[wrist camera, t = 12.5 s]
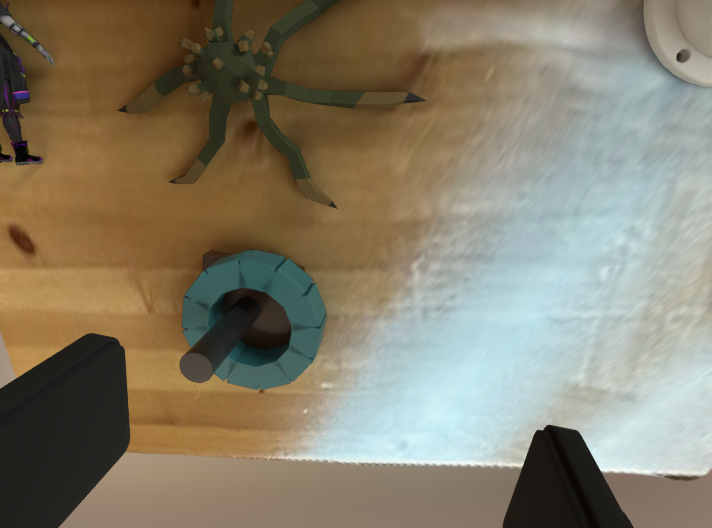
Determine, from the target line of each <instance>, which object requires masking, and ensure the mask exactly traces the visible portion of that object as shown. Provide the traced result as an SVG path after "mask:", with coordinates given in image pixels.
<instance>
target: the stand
mask: <svg viewBox="0 0 712 528" xmlns="http://www.w3.org/2000/svg"><path fill="white" fill-rule="evenodd" d="M230 255H234V254H229V253H223V252H218V251H212V250H210V251H208V252H207V253H205V254H203V271H204V270H205V269H207V268H208V267H209V266H211V265H212V264H214V263H215V262H217V261H218V260H220V259H221V258H224V257H227V256H230ZM298 267H299V268H301V269H302V270H303V271H304V269H305V267H300V266H298ZM222 315H223V316H222V317H221V318H220V319H219V320H218V321H217V322H216V323H215V324H214V325H213V326H212V327H211V328H210V329H209V330H208V331H207V332H206V333H205V334H204V335H203V336H202V337H201V338H200V339H199V340H198V341H197V342H196V343H195V344H194V345H193V346H192V347H191V349H190V350H189V351H188V352H187V353H186V354H185V355H184V356H183V357H182V358H181V360H180V370H181V372H182V374H183V375H184V376H185V377H186V378H187V379H188V380H190V381H192V382H196V383H202V382H205V381H207V380H209V379H210V378H211V376H212V375H213V374H214V373H215V371H216V370H217V369H218V368H219V366H220V365H221V364H222V363H223V361H224V360H225V359H226V358H227V356H228V355H229V354H230V352H231V351H232V350H233V349H234V347H235V346H236V345H237V344H238V342H239V341H240V340H241V341H242V342H243V343H245V344H246V345H247V346H252V347H256V348H260V349H265V350H268V349H272V348H275V347H279V346H283V345H285V344H286V343H287V342H288V341H289V340H290V338H291V331H292V326H291V323H290V321H289V319H288V316H287V314H286V311H285V309H284V307H283V306H282V305H280V304H279V303H278V302H277V301H276V300H274V299H273V298H272V297H271V296H270V295H268V294H267V293H266V292H262V291H258V290H253V289H249V288H245V287H242V288H239V289H235V290H232V291H229V292H227V293H226V294H225V296H224V303H223V313H222Z"/></svg>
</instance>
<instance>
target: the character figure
mask: <svg viewBox="0 0 712 528" xmlns="http://www.w3.org/2000/svg"><path fill="white" fill-rule="evenodd" d="M8 5H9V3H7V4H6V7H5V8H4V7H3V5H2V4H1V3H0V24H4V25H5V26H6V27H7V28H8V29H9V30H10V31H11V32H13V33H14V34H16V35H17V36H19V37H21V38H22V39H24V40H25V41H27V42H28V43H29V44H31V45H32V46H33V47H34V48H36V49H37V50H38V52H39V53H40V54H42V55H43V57H44V58H47V60H48V62H49V63H50V62H51V64H52V65H53V66H54V63H53V60H52V58H51V57H50V55H49V54H48V52H47V51H46V50H45V49H44V48H43V47H42V46H41V45H40V44H39V43H38V41H37V40H36V39H34V38H33V37H32V36H31V35H30V34H29V33H28V32H27V31H26V30H25V29H23V28H22V27H21V26H20V25H19V24H18V23H16V22H15V21H14V20H12V18H11V15H10V14H9V12H8ZM18 59H19V60H18ZM49 60H50V61H49ZM20 62H21V59H20V58H19V57H18V58H17V55H16V54H15V53H14V51H13V50H12V49H11V48H10V47H9V45H8V43H7V42H6V40H5V38H4V37H3V36H2V35H1V34H0V116H1V115H2V118H3V125H4V127H5V129H6V131H7V133H8V135H9V137H10V139H11V141H12V142H11V145H12V146H13V148H14V151H15V154H16V157H15V162H16V165H28V164H40V163H43V160H42V158H41V157H37V156H31V155H29V154H28V153H29V149H28V147H27V140H26V141H23V140H22V136H21V126H20V122H19V119H18V117H19V118H20V119H21V117H22V118H23V119H24V117H23V116H22V115H21V114H20V111H19V106H20V104H23V103H27V102H30V94H29V91H28V89H27V85H26V80H25V74H24V71H25V68H24V67H23V66H22V68H23V69H21V64H20ZM20 116H21V117H20ZM1 151H2V147H1V145H0V163H2V162H11V161H13V159H12V157H11V156H10V155H4V154H2V153H1Z"/></svg>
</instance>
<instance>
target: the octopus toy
mask: <svg viewBox="0 0 712 528" xmlns="http://www.w3.org/2000/svg"><path fill="white" fill-rule="evenodd" d="M338 1H339V0H307V1H305V2H304V3H302V4H301V5H299V6H298V7H296V8H295V9H293V10H292V11H291V12H289V13H288V14H287V15H285V16H284V17H283V18H281V19H280V20H279V21H277V22H276V23H275V24H274V25H272V26H271V27H270V29H269V31H268V33H267V35H266V37H265V39H264V41H263V43H262V46H261V48H260V50H259V51H258V52H257V53H256V55H255V56H254V55H253V53H252V52H251V50H250V47H251V46H252V44H253V42H254V40H255V32H253V31H252V30H247V31H246V32H245V34H244V35H243V36H242V37H241V38H240V39H239V40H238V41H237V42H238V44H236V43H234V41H233V36H232V31H231V18H232V10H233V2H232V0H216V2H215V8H214V13H213V19H212V21H213V29H211V30H210V29H208V28H207V27H205V29H204V32H203V34H202V35H204V36H205V37H206V38H207V39H208V40H209V42H210V43H209V44H208V45H207V46H206V47H205V49H202V48H200V45H199V44H197V43H193V42H190V41H189V40H188V39H186V38H181V39H179V45H180V46H182V47H184V48H187V49H190V50H191V51H190V54H187V55H185V56H184V61H185V63H186V64H187V65H184V66H180V67H177V68H173V69H171V70H170V71H168V72H167V73H166V74H164V75H163V76H162V77H160V78H159V79H158V80H156V81H155V82H154V83H153V84H152V85H151V86H150V87H149V88H147V89H146V90H145V91H144V92H143V93H142V94H141V95H140V96H139V97H138V98H137V99H135V100H134V101H132V102H130V103H129V104H127V105H126V106H124V107H123V108H121V109H120V110H118V111H120V112H126V113H141V112H147V111H148V110H149V109H151V108H152V107H153V106H154V105H155V104H156V103H157V102H158V101H160V100H161V99H162V98H163V97H164V96H166V95H167V94H168V93H170V92H171V91H173V90H174V89H176V88H177V87H178V86H180V85H181V84H183V83H187V82H192V81H197V80H201V81H202V83H198V84H192V85H189V87H188V88H187V89H186V90H187V92H188V93H189V95H190V96H191V97H192V96H198V97H199V98H200V100H203V101H206V100H208V99H210V98H211V96H210V95H209V93H208V92H210V93H212V94H214V96H213V100H212V105H211V109H210V113H209V141H208V142H207V143H206V145H205V146H204V148H203V149H202V151H201V152H200V154H199V155H198V157H197V159H196V160H195V162H194V164H193V165H192V167H191V168H190V170H189V171H188V173H187V174H185V175H182V176H180V177H177V178H175V179H173V180H171V181H169V182H170V183H175V184H194V183H195V182H196V181H197V179H198V178H199V176H200V175H201V174H202V172H203V171H204V169H205V168H206V166H207V165H208V164H209V162H210V161H211V159H212V158H213V156H214V155H215V154H216V152H217V151H218V149H219V148H220V147H221V145H222V144H223V143H224V141H225V131H226V120H227V116H228V113H229V110H230V107H231V104H232V103H233V104H234V102H236V104H237V103H239V102H244V101H245V102H244V103H246V102H247V101H251V102H252V105H253V109H254V113H255V116H256V120H257V124H258V126H259V128H260V129H261V130H262V132H263V133H264V134H265V136H266V137H267V138H268V140H269V141H270V142H271V144H272V145H273V146H274V147H275V148H276V149H277V150H279V151H280V152H281V153H283V154H284V155H286V156H287V157H288V160H289V163H290V166H291V169H292V172H293V175H294V178H295V181H296V182H297V184H298V186H299V187H300V189H301V191H302V193H303V194H304V196H305V198H307V199H310V200H313V201H316V202H319V203H322V204H325V205H328V206H331V207H334V208H337V207H336V206H335V204H334V203H333V201H331V200H330V199H329V198H327V197H326V196H325V195H324V194H322V193H321V192H320V191H319V189H318V188H317V187H316V185H315V184H314V182H313V181H312V179H311V177H310V175H309V172H308V170H307V167H306V165H305V162H304V159H303V157H302V154H301V152H300V149H299V148H298V147H297V146H296V145H295V144H294V143H293V142H292V141H290V140H289V139H288V138H287V137H286V136H284V135H283V134H282V133H281V131H280V130H279V129H278V127H277V126H276V125H275V123H274V122H273V121H272V119H271V118H270V112H269V105H268V98H267V95H283V96H286V97H289V98H292V99H295V100H299V101H303V102H309V103H314V104H320V105H327V106H336V107H345V108H353V109H387V108H390V107H393V106H397V105H400V104H404V103H411V102H420V101H426V100H424V99H422V98H420V97H418V96H416V95H414V94H412V93H410V92H350V91H329V90H314V89H307V88H304V87H301V86H297V85H294V84H291V83H288V82H285V81H282V80H280V79H277V78H274V77H271V76H270V74H271V71H272V69H273V66H274V63H275V61H276V58H277V56H278V53H279V51H280V48H281V45H282V43H283V42H284V41H285V40H286V39H288V38H289V37H290V36H292V35H293V34H294V33H295V32H297V31H298V30H299V29H301V28H302V27H303V26H305V25H306V24H308V23H309V22H311V21H312V20H314V19H315V18H316V17H318V16H319V15H321V14H322V13H323V12H325V11H326V10H327V9H329V8H330V7H331V6H333V5H334V4H335V3H336V2H338ZM198 54H199V56H198V60H195V58H196V57H197V55H198ZM234 105H235V104H234ZM337 209H338V208H337Z"/></svg>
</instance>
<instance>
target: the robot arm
mask: <svg viewBox="0 0 712 528" xmlns="http://www.w3.org/2000/svg"><path fill="white" fill-rule="evenodd" d="M643 19H644V24H645V30H646V36H647V38H648V41H649V43H650V45H651V48H652V50H653V52H654V54H655V55H656V56H657V58H658V59H659V61H660V62H661V63H662V65H663V66H664V67H666V68H667V69H668V70H669V71H670V72H671V73H672V74H674V75H675V76H677V77H679V78H681V79H683V80H685V81H686V82H688V83H691V84H695V85H699V86H703V87H712V0H644V11H643ZM676 55H678V60H677V59H676ZM129 441H130V426H129V410H128V394H127V377H126V361H125V350H124V348H123V346H121V345H120V343H119V341H118V339H116V338H114V337H109V336H104V335H99V334H94V333H89V334H87V335H84V336H83V337H81V338H80V339H78V340H76V341H75V342H73V343H72V344H70V345H69V346H67V347H65V348H64V349H62V350H61V351H59V352H57V353H56V354H54V355H53V356H51V357H50V358H48V359H46V360H45V361H43V362H42V363H40V364H39V365H37V366H35V367H34V368H32V369H31V370H29V371H27V372H26V373H24V374H23V375H21V376H20V377H18V378H16V379H15V380H13V381H12V382H10V383H8V384H7V385H5V386H4V387H2V388H1V389H0V528H58V527H59V526H60V525H61V524H62V523H63V522H64V521H65V519H66V518H67V517H68V516H69V515H70V514H71V513H72V512H73V511H74V509H75V508H76V507H77V506H78V505H79V504H80V503H81V501H82V500H83V499H84V498H85V497H86V496H87V495H88V494H89V493H90V491H91V490H92V489H93V488H94V487H95V486H96V485H97V483H98V482H99V481H100V480H101V479H102V478H103V477H104V476H105V474H106V473H107V472H108V471H109V470H110V469H111V468H112V466H113V465H114V464H115V463H116V462H117V461H118V460H119V459H120V457H121V456H122V455H123V454H124V453H125V451H126V449H127V447H128V445H129ZM503 528H633V526H632V524H631V522H630V520H629V519H628V518H627V516H626V515H625V513H624V512H623V511H622V510H621V508H620V506H619V504H618V503H617V501H616V499H615V497H614V495H613V493H612V491H611V489H610V488H609V486H608V484H607V482H606V480H605V478H604V477H603V475H602V473H601V471H600V469H599V467H598V465H597V464H596V462H595V460H594V458H593V456H592V454H591V453H590V451H589V449H588V447H587V445H586V443H585V442H584V440H583V438H582V436H581V434H580V433H579V432H578V431H576V430H573V429H568V428H563V427H558V426H553V425H547V426H546V427H545V428H544V430H543V431H542V430H537V431H536V432H535V434H534V436H533V439H532V442H531V445H530V448H529V451H528V453H527V456H526V459H525V462H524V465H523V467H522V470H521V473H520V476H519V479H518V482H517V484H516V487H515V490H514V493H513V496H512V498H511V501H510V504H509V507H508V510H507V512H506V515H505V518H504V522H503Z"/></svg>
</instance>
